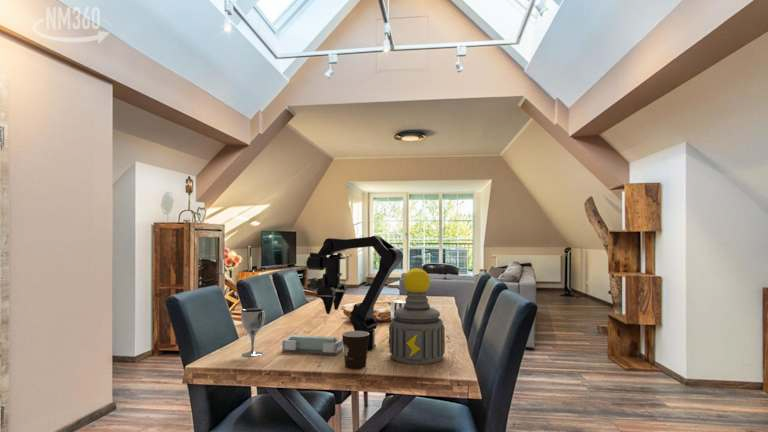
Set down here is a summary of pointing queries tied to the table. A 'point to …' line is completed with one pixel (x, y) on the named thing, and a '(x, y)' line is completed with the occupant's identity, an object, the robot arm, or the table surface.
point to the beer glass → (396, 306)
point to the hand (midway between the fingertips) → (332, 311)
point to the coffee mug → (355, 349)
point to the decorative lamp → (417, 325)
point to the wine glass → (252, 326)
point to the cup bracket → (328, 349)
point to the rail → (311, 341)
